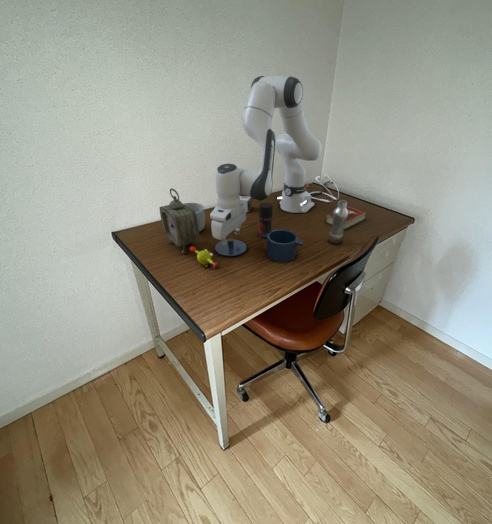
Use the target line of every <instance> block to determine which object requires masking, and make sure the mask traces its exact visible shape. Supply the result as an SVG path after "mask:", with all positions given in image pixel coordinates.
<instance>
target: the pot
mask: <svg viewBox="0 0 492 524" xmlns="http://www.w3.org/2000/svg"><path fill="white" fill-rule="evenodd" d="M262 237H263V238H264V239H266V256H267V257H268V258H269V259H270V260H272V261H274V262H278V263H289V262H291V261H293V260H294V259H295V258H296V256H297V250H298V249H297V248H298V246H300V247H303V245H304V243H305V241H304V240H301V239H300V240H299V237H298V235H297V234H296V233H295V232H294V231H291V230H288V229H272V231H271V232H269V233H263V234H262V235H261V237H260V238H262Z"/></svg>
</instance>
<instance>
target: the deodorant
mask: <svg viewBox="0 0 492 524" xmlns="http://www.w3.org/2000/svg"><path fill="white" fill-rule="evenodd" d="M258 209H259V210H258V236H259V237H260V238H263V237H261V235H262V234H263V233H269V232H271V231H273V229H272V228H273V209H274V205H273V204H272V203H270V202H261V203H259V205H258Z"/></svg>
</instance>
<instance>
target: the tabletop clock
mask: <svg viewBox="0 0 492 524" xmlns="http://www.w3.org/2000/svg"><path fill="white" fill-rule="evenodd" d="M172 191H173V192H174V193H175V194H176V195H173V194H172ZM169 194H170V196H171V198H172V199H173V200H171V201H170V202H169V204H167V205H162V206H159V215H160V221H161V225H162V229H163V233H164V236H166V238H167V239H168V240H169V243H170V244H173V245H175V246H176V247H181V246H182V250H181V254H182V255H185V254H186V253H187V251H186V249H185V248H186V246H190V244H191V243H194V242H197V240H198V239H199V238H200V232H199V228H198V221H197V216H196V213H195V212H194V210H192V209H191V208H190V207H188V206H187V205H185V204H183V202H182V201H181V200H180V195H179V193H178V191H177V190H176V189H175V188H170V189H169Z"/></svg>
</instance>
